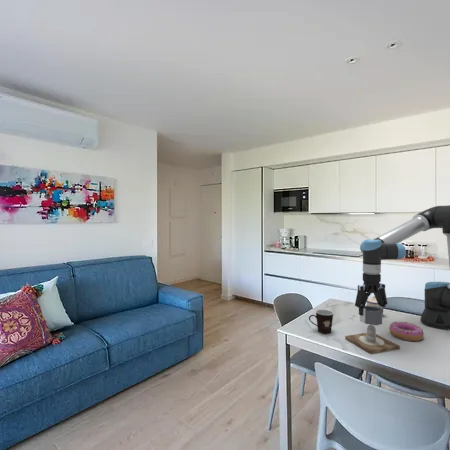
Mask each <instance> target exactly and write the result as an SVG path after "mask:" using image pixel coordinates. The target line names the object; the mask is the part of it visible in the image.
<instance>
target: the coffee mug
mask: <svg viewBox="0 0 450 450" xmlns="http://www.w3.org/2000/svg"><path fill="white" fill-rule="evenodd" d="M311 317H315V319H316V323H315V322H313V321H312V320H311ZM333 317H334V312H333V310H329V309H317V310H315V314H311V315H309V317H308V320H309V322H311V323H312V324H313V325H314V326H316V328H317V332H318V333H320V334H323V335H329V334H331V333H332V329H333V328H332V327H333V320H334V318H333Z"/></svg>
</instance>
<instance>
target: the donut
mask: <svg viewBox="0 0 450 450" xmlns="http://www.w3.org/2000/svg"><path fill="white" fill-rule="evenodd" d="M389 333H391V334H392V336H394V337H395V338H398V339H401V340H403V341H408V342H418V341H419V342H420V341H421V340H423V338H424V329H422V327H421V326H418V325H416V324H414V323H411V322H406V321H405V322H403V321H395V322H391V323H389Z"/></svg>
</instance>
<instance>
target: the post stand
mask: <svg viewBox="0 0 450 450" xmlns="http://www.w3.org/2000/svg"><path fill="white" fill-rule="evenodd" d="M344 337H345V339H344V340H346V341H348V342H349V343H351V344H352V345H355V346H356V347H358V348H359V349H361V350H363V351H364V352H366V353H367V354H370V355H374V354H379V353H385V352H389V351H390V352H391V351H396V350H400V349H401V345H400V344H397V343H396V342H393V341H392V340H389V339H387V338H385V337H384V336H382V335H379V334H377V329H376V326H375V325H370V324H368V325H367V328H366V332H362V333H356V334H349V335H345V336H344Z"/></svg>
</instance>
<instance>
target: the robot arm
mask: <svg viewBox="0 0 450 450" xmlns="http://www.w3.org/2000/svg"><path fill="white" fill-rule="evenodd" d="M432 229H442V230H441V231H442V234H443V235H444V236H446V242H447V255H448V267H449V269H450V205H435V206H432V207H430V208H428V209H425V210H423V211H421V212H418V213H417V214H415V215H414V216H413V217H412V218H411V219H409V220H407V221H406V222H404V223H402V224H400V225H398V226H396V227H395V228H393V229H391V230H389V231H387V232H385V233H383V234H381V235H379V236H377V237H376V238H373V239H370V238H369V239H365V240H363V241H362V242H361V244H359V245H360V247H359V250H360V252H361V254H362V281H363V284H362V285H360V284H358V285H357V294H356V297H355V302H354V306H355V307H356V308H358V315H359V322H361V323H363V324H365V310H366V309H364V307H365V306H366V305H367V299H368V298H370V296H371V294H373V296H375V298H376V300H377V303H378V305H377V307H378V308H381V309H382V313H383V314H384V308H385V307H386V306H387V305H388V300H387V294H386V293H387V292H386V284H384V283H381V281H382V278H381V277H382V275H381V273H382V271H381V270H382V261H383V260H384V261H385V260H386V261H387V260H388V261H389V260H395V261H397V260H401V259H404V258H405V256H406V253H407V252H406V251H407V250H406V247H405V246H404V245H403V244H401V243H402V242H403V241H406V240H408V239H409V238H411V237H413V236H414V235H417V234H418V233H421V232H427V231H429V230H432ZM423 290H424V308H423V311H422V313H421V315H420V322H421V324H423V325H425V326H427V327H430V328H434V329H440V330H450V282H448V281H429V282H428V281H427V282H426V283H425V284H424V289H423Z"/></svg>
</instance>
